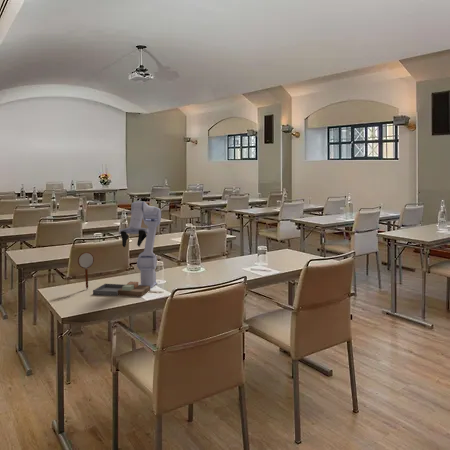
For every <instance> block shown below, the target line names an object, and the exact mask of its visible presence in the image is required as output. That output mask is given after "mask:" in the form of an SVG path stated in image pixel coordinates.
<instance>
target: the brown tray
mask: <svg viewBox="0 0 450 450" xmlns="http://www.w3.org/2000/svg"><path fill="white" fill-rule="evenodd" d="M148 291H149V292H150V291H151V287H150V286H144V285H140V284H138V286H137V287H136V288H134V289H133V290H131V291H125V290H122V288H121V289H119V290H118V295H117V296H120V297H121V296H123V297H139V298H141V297H144V296H145V295H146V294H148V293H149V292H148ZM147 292H148V293H147Z"/></svg>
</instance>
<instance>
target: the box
mask: <svg viewBox="0 0 450 450" xmlns="http://www.w3.org/2000/svg"><path fill="white" fill-rule="evenodd" d="M124 285H125V284H123V283H122V284H118V283H104V284H102V285H100V286H98V287H97V288H94V289H93V290H92V296H93V295H94V296H97V295H98V296H114V297H117V296H119V295H118V290H119V289H121V288H122V286H124Z"/></svg>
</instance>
